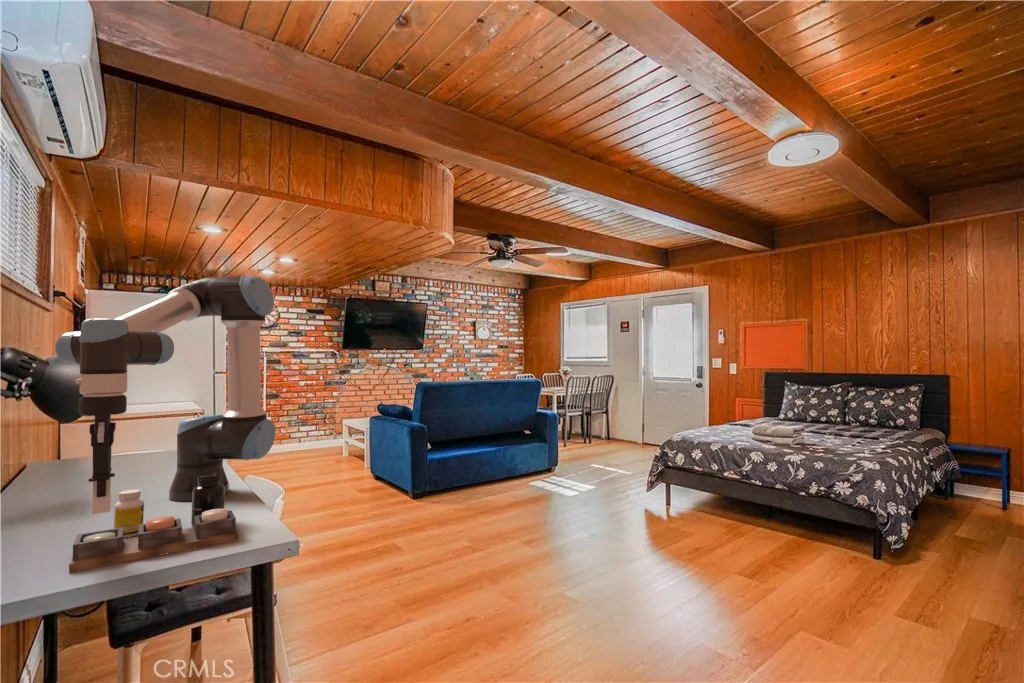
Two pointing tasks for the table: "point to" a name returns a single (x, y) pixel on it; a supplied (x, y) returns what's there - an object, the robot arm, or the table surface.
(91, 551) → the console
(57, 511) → the table surface
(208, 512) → the peach rounded block
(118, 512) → the supplement bottle
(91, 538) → the sage button
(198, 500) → the supplement bottle
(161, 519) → the terracotta button
